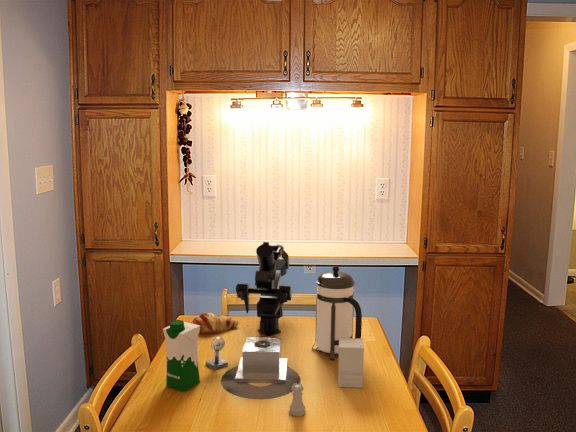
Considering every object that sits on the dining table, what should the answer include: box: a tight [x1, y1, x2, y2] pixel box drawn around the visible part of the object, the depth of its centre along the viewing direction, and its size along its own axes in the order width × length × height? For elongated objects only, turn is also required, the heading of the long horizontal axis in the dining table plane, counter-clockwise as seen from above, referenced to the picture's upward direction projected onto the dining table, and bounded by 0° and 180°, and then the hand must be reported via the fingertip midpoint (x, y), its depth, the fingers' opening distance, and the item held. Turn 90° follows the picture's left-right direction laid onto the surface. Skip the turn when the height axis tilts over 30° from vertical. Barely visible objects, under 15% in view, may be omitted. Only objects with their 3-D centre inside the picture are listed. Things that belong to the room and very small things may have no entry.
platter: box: [220, 365, 301, 400], centre depth 167 cm, size 24×24×1 cm
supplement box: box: [337, 337, 365, 389], centre depth 165 cm, size 7×7×13 cm
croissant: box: [187, 312, 240, 334], centre depth 206 cm, size 21×10×8 cm, turn 107°
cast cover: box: [235, 336, 288, 383], centre depth 171 cm, size 15×15×9 cm
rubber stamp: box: [205, 336, 229, 371], centre depth 176 cm, size 5×5×10 cm
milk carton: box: [162, 319, 201, 393], centre depth 162 cm, size 9×9×20 cm
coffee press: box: [311, 265, 363, 361], centre depth 185 cm, size 17×16×30 cm
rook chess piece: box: [288, 382, 306, 417], centre depth 148 cm, size 4×4×8 cm
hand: (260, 313), depth 183 cm, fingers open, 9 cm apart
